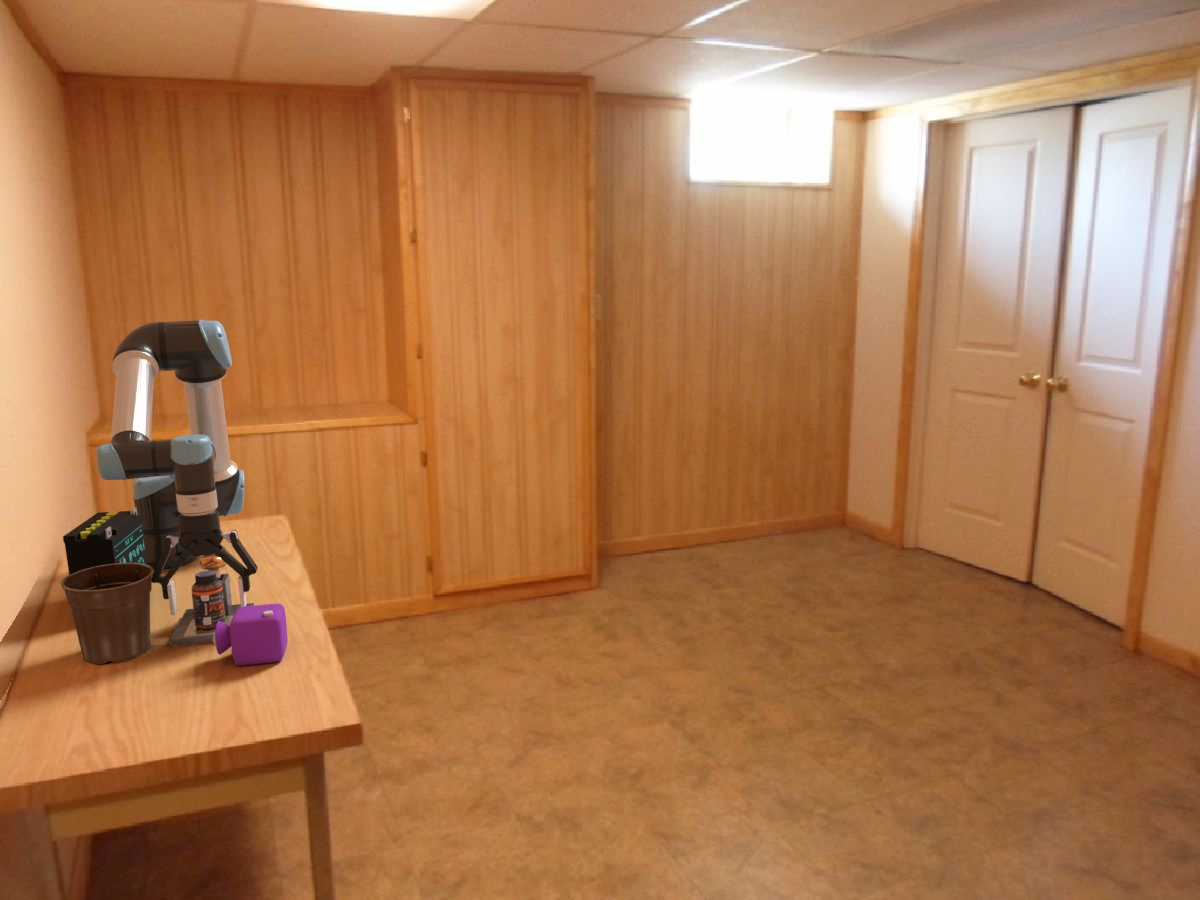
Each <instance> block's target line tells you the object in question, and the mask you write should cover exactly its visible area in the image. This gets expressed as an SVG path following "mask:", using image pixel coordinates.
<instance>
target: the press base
mask: <svg viewBox="0 0 1200 900" xmlns="http://www.w3.org/2000/svg"><path fill="white" fill-rule="evenodd" d="M220 576H221V580H218V581H220V582H221V583H222V589H223V598H224V609H225V624H226V625H228V626H230V623H231V620H232V618H233V616H234V614H235V612H236V610H237V609H238V608H240V607H241V604H240V603H239V604H233V601H232V600H233V599H232V591H231V590H232V589H231V582H230V581H231V580H230V573H220ZM246 603H247V602H246ZM253 605H255V603H254V602H249V603H247V604H246V606H253ZM215 630H216V628H211V629H200V628H198V627H196V626H195V620H194V610H193V608H186V609H185V611H184V613H183V614H182V617H181V618H180V621H179V622H178V624H177V626H176V628H175V630H173V631H174V632H173V634H172V635H171V637H170V638H169V643H170V644H169V645H170V647H179V646H180V647H181V646H188V645H189V646H190V645H199V644H209V643H214V642H213V634H214V632H215Z"/></svg>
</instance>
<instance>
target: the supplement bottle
mask: <svg viewBox="0 0 1200 900" xmlns="http://www.w3.org/2000/svg"><path fill="white" fill-rule="evenodd" d="M194 576H195V577H194V578H195V579H194V580H195V582H194V583H193V585H192V586H191V597H192V598H191V599H192V609H193V610H194V620H195V626H196V627H198V628H200V629H211V628H216V624H217V622H218V621H221V622H223V623H225V609H224V598H223V589H222V583H221V582H220V581H218V580H217V579H216V578H217V577H216V572H215V571H211V570H209V571H208V570H202V571H198V572H196V573H195V575H194Z"/></svg>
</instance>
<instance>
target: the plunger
mask: <svg viewBox="0 0 1200 900" xmlns="http://www.w3.org/2000/svg"><path fill="white" fill-rule="evenodd" d="M226 565H227V563H225V562H224V561H223V560H222V559H221V558H220V557H217V556H216V555H215V554H214V553H213V554H212V555H210V556H203V555H202V556H199V566H200V569H201V570H203V571H209V570H211V571H215V572H216V577H217V578H216V579H217V580H221V576H220V574H221V568H224V567H226Z"/></svg>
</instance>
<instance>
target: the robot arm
mask: <svg viewBox="0 0 1200 900" xmlns="http://www.w3.org/2000/svg"><path fill="white" fill-rule="evenodd" d="M111 366H112V367H111V368H112V372H113V374H114V375H115V377H116V378H115V388H114V390H115V391H114V399H113V410H112V411H113V412H112V423H111V435H110V442H108V443H105V444H100V445H99V446H98V447H97V448H96V466H97V471H98V474H99V477H100V478H101V479H102V480H104V481H125V480H132V479H133V480H134V479H136V480H134V482H133V484H132V491H133V497H132V500H133V502H134V508H135V507H136V508H137V515H142V525H143V533H144V541H145V549H146V557H147V565H149V566H151V567H152V568H153V569H154V573H153V575H152V583H153V584H155V583H156V584H159V585H161V590H162V598H163V599H164V600H168V603H169V604H168V605H169V611H170V616H175V615H176V614H177V612H178V605H177V603H178V602H177V595H176V588H175V580H171V579H172V578H173V576H174V575H175V574H176V572H177V571H178V570H179V569H180V568H181V566H182V564H184V565H186V564H185V563H187V564H189V563H192V562H193V561H195V560H196V559H198V557H199V558H200V557H201V556H210V555H212V554H213V553H214V554H215V555H216V556H217V557H220V558H221V559H222V560H223V561H224V562H225V563H226V565H228V566H229V567H230V568H231V569H232V570H233V571H235V573H236V574H238V575H239V576H238V578H237V583H238V591H239V602H240V603H239V604H241V607H244V606H246V604H247V593H249V591H250V588H251V582H250V576H252V575H256V573H257V571H258V568H259V567H258V565H257V564H256V562H255V561H254V559H253V558H252V556H251V555H250V553H249V552H248V550H247V549H246V547H245V546H244V545H243V543H242V542H241V540H240V538H239V532H238V531H237V530H236V529H232V530H231V531H230V532H229V531H228V532H224V533H223V531H222V530H221V525H220V522H221V521H220V517H227V516H232V515H238V514H240V513H242V512H243V509H244V504H245V503H244V501H245V471H244V470H242V469H239V467H238V464H237V463H236V462H235V461H233V460H232V458H231V452H230V444H229V443H230V442H229V437H228V434H229V433H228V428H227V427H228V426H227V421H226V420H227V419H226V410H225V403H224V395H223V387H222V386H223V385H222V380H223V379H224V378H225V377H226V376H227V375H228V374H227V373H228V372H227V370H228V369H230V368H232V366H233V361H232V355H231V350H230V344H229V340H228V336H227V333H226V329H225V328H224V326H223V324H222V323H221V322H220V321H219V320H204V319H199V320H179V321H178V320H177V321H152V322H148V323H144V324H142V325H140V326H138V327H136V328H135V329H133V330H131V331H130V332H129V333H128V334H127V335H125V337H124V338H123V339H122V340H121V341H120V342H119V344H118V346H117V347H116V349H115V351H114V354H113V357H112V363H111ZM170 371H171V372H174V374H175V375H174V376H175V378H176V379H177V381H179V382H181V383H182V384H183V390H184V391H183V392H184V397H185V403H186V404H185V405H186V412H187V419H188V425H189V432H190V434H184V435H179V436H176V437H173V438H172V439H159V440H152V425H153V424H152V423H153V422H152V420H153V400H154V399H153V397H154V380H155V379H156V378H157V376H158V374H159V372H170ZM223 540H225V541H227V543H229V544H231V546H232V548H233V550H234V551H235V552H236V554H237V555H238V557H239V558H240V559H241V561H242V562H243V564H242V563H241V562H240V561H239V560H238V559H237V558H236V557H235V556H233V555H232V554H231V553H230V552H229V551H228V550H226V548H225V546H224V545H222V542H223ZM168 567H171V568H168ZM163 568H164V569H168V571H167V572H166V573H165V575H162V573H163V571H164V569H163Z"/></svg>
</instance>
